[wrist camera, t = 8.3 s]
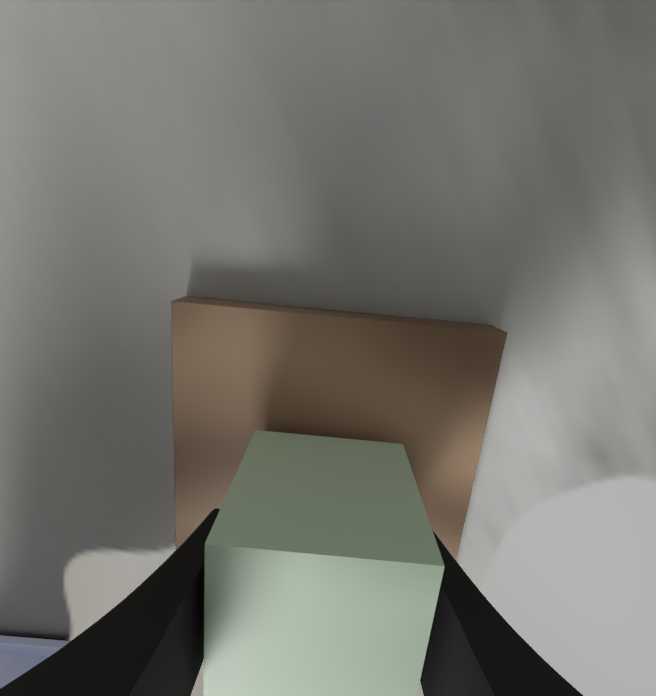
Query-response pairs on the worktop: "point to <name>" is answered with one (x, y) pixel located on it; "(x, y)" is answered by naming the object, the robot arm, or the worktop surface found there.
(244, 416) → the cutting board
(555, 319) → the worktop surface
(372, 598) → the green cube
